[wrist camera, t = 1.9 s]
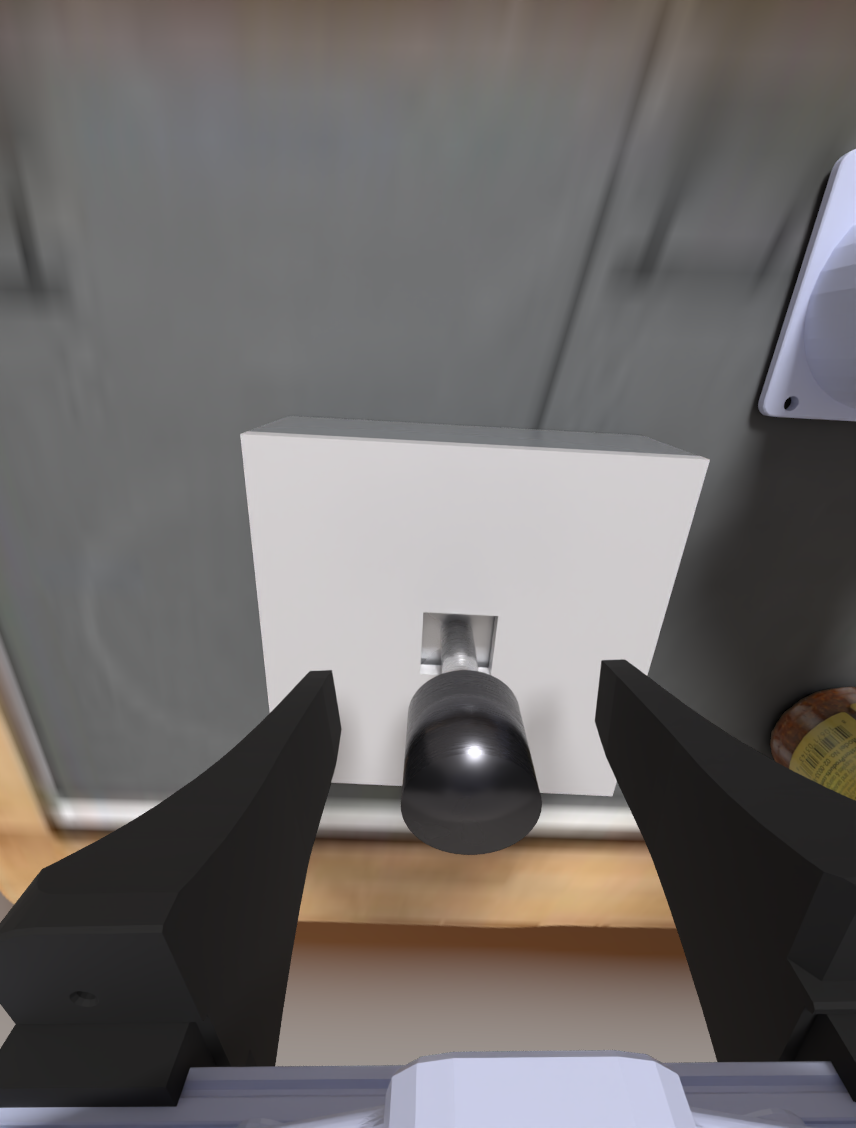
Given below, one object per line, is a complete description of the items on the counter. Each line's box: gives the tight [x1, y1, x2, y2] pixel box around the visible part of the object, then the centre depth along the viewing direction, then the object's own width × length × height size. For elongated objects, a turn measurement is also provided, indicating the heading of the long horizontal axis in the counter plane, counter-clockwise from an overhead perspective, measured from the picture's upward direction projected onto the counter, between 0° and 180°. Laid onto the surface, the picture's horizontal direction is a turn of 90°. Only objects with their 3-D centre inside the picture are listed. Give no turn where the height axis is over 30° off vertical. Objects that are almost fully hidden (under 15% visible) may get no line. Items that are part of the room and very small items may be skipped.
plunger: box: [401, 612, 542, 855], centre depth 14 cm, size 11×11×8 cm
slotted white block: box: [240, 416, 710, 796], centre depth 19 cm, size 14×14×5 cm
